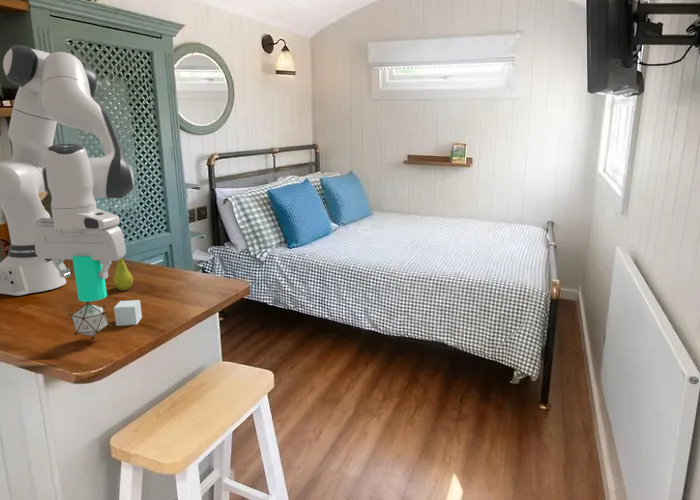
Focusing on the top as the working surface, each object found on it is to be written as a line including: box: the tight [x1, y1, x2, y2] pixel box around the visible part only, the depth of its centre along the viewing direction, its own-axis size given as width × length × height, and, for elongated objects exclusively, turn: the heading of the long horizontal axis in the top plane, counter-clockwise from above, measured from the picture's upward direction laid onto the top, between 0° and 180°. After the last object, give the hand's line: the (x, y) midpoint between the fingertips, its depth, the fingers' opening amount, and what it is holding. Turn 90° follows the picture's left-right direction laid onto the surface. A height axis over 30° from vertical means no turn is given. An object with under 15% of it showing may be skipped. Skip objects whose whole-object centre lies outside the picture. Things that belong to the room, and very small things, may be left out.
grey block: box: [113, 299, 143, 327], centre depth 128 cm, size 5×5×5 cm
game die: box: [67, 302, 113, 340], centre depth 116 cm, size 9×8×10 cm
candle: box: [72, 256, 108, 303], centre depth 113 cm, size 6×6×12 cm
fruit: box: [112, 258, 134, 292], centre depth 152 cm, size 6×6×12 cm
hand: (84, 277), depth 113 cm, fingers open, 8 cm apart
